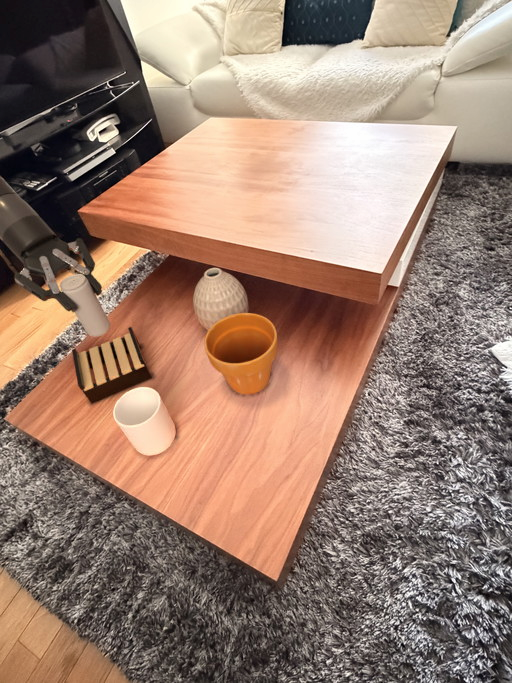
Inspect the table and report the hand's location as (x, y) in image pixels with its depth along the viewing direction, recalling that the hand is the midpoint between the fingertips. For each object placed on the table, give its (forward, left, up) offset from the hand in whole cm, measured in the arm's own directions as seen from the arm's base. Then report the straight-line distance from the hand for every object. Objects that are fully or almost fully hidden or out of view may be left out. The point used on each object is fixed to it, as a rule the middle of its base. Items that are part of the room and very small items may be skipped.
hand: (87, 301), depth 71 cm
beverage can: (-1, +2, -8) cm, 9 cm away
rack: (-3, +5, -24) cm, 24 cm away
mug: (0, -15, -24) cm, 28 cm away
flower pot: (+23, -13, -24) cm, 36 cm away
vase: (+25, +5, -24) cm, 35 cm away
